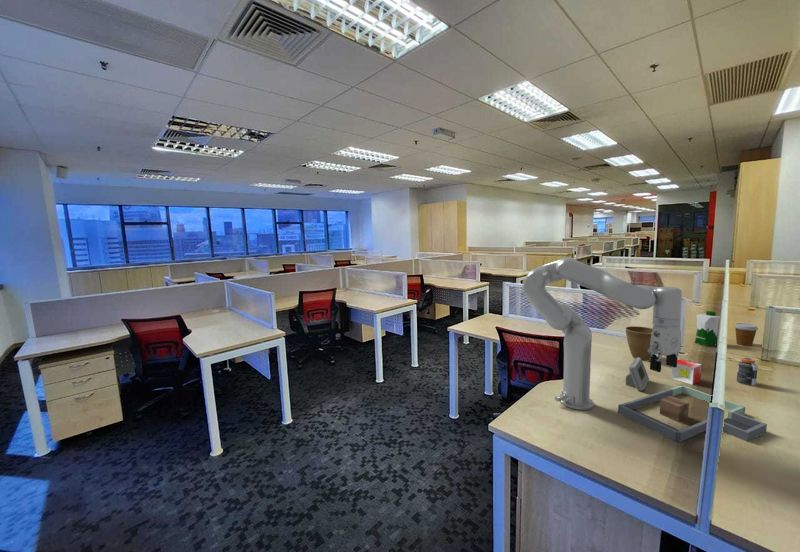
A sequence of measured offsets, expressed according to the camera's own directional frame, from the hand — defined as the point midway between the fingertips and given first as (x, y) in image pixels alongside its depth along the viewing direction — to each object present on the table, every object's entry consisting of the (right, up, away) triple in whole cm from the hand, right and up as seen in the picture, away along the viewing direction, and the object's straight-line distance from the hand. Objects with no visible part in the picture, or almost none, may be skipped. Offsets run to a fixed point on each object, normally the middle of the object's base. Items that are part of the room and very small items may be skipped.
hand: (663, 368), depth 114 cm
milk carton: (+91, -8, +78) cm, 120 cm away
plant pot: (+39, -12, +61) cm, 74 cm away
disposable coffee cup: (+111, -8, +75) cm, 135 cm away
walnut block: (+8, -20, +5) cm, 22 cm away
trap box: (+13, -20, +2) cm, 24 cm away
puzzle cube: (+39, -15, +34) cm, 54 cm away
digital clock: (+14, -17, +30) cm, 38 cm away
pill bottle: (+61, -15, +28) cm, 69 cm away
